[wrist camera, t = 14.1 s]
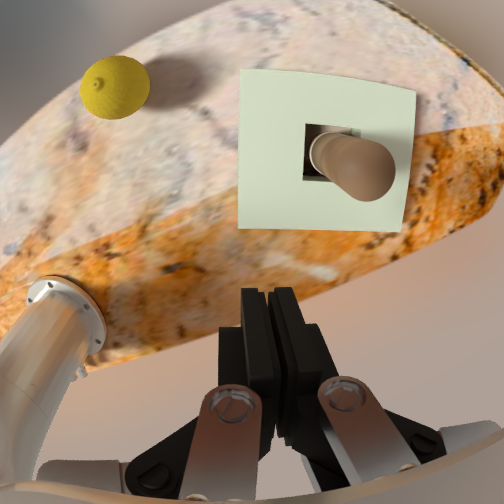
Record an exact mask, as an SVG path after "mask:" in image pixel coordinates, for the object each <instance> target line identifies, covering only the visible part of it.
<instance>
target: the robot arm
mask: <svg viewBox="0 0 504 504" xmlns="http://www.w3.org/2000/svg"><path fill="white" fill-rule="evenodd" d="M26 303H27V308H26V310H25V311H24V312H23V313H22V314H21V316H20V317H19V318H18V319H17V320H16V322H15V323H14V324H13V325H12V326H11V328H10V329H9V330H8V331H7V333H6V334H5V335H4V336H3V338H2V339H1V340H0V504H504V428H502V429H501V427H500V426H499V425H498V424H497V423H495V422H492V421H479V422H474V423H469V424H463V425H456V426H449V427H442V428H440V429H439V430H438V431H435V430H433V429H432V428H430V427H427V426H425V425H422V424H420V423H417V422H415V421H412V420H410V419H407V418H405V417H402V416H400V415H397V414H395V413H392V412H390V411H388V410H386V409H383V408H382V406H381V405H380V403H379V402H378V400H377V399H376V397H375V396H374V395H373V393H372V392H371V390H370V389H369V388H368V387H367V385H366V384H365V383H363V382H361V381H360V380H358V379H356V378H353V377H349V376H339V374H338V372H337V369H336V367H335V365H334V362H333V360H332V357H331V355H330V353H329V350H328V348H327V345H326V343H325V341H324V338H323V336H322V334H321V332H320V329H319V327H318V325H317V324H305V321H304V318H303V316H302V313H301V310H300V308H299V305H298V303H297V300H296V297H295V295H294V292H293V289H292V287H275V288H274V292H269V293H268V306H267V303H266V299H265V294H264V292H258V288H241V327H219V352H218V353H219V355H218V387H216V388H214V389H212V390H211V391H209V392H208V393H207V394H206V395H205V397H204V399H203V401H202V405H201V408H200V412H199V416H198V417H196V418H195V419H193V420H192V421H191V422H189V423H188V424H186V425H185V426H183V427H182V428H180V429H179V430H178V431H176V432H174V433H173V434H172V435H170V436H169V437H167V438H165V439H164V440H162V441H161V442H159V443H158V444H157V445H155V446H153V447H152V448H150V449H149V450H147V451H145V452H144V453H142V454H140V455H139V456H137V457H136V458H135V459H133V460H132V461H131V462H124V463H120V462H119V460H50V461H48V462H46V463H44V464H43V465H42V466H41V467H40V468H39V470H38V473H37V479H36V481H32V476H33V472H34V467H35V464H36V461H37V457H38V454H39V452H40V449H41V446H42V444H43V441H44V439H45V436H46V434H47V432H48V429H49V427H50V425H51V423H52V421H53V418H54V416H55V414H56V412H57V410H58V407H59V405H60V403H61V401H62V399H63V397H64V394H65V393H66V391H67V389H68V386H69V384H70V382H74V381H75V380H76V379H77V378H78V376H77V373H76V371H77V372H78V374H79V376H80V377H81V378H84V377H86V376H87V375H88V373H87V371H86V368H85V366H84V365H83V364H84V362H85V360H86V358H87V356H91V355H93V354H95V353H97V352H98V351H99V350H100V349H101V348H102V346H103V344H104V342H105V339H106V334H107V329H106V323H105V320H104V317H103V315H102V313H101V311H100V309H99V307H98V306H97V304H96V303H95V302H94V300H93V299H92V298H91V297H90V296H89V295H88V294H87V293H86V292H85V291H84V290H83V289H82V288H80V287H79V286H77V285H76V284H74V283H73V282H71V281H69V280H67V279H64V278H61V277H58V276H44V277H42V278H39V279H38V280H36V281H35V282H34V283H33V284H32V286H31V287H30V288H29V290H28V293H27V297H26ZM275 423H276V429H277V435H278V437H279V438H282V437H284V440H285V445H286V446H292V449H294V450H295V451H297V452H299V453H301V459H302V462H303V465H304V467H305V470H306V472H307V474H308V477H309V479H310V481H311V483H312V486H313V488H314V491H315V494H308V495H302V496H294V497H286V498H277V499H266V500H255V497H256V484H257V472H258V462H259V461H260V459H262V458H263V457H264V456H265V455H266V454H267V453H268V452H269V451H270V447H271V440H272V438H273V437H274V430H275Z"/></svg>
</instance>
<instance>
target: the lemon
mask: <svg viewBox="0 0 504 504" xmlns="http://www.w3.org/2000/svg"><path fill="white" fill-rule="evenodd" d="M149 92H150V78H149V75H148V73H147V70H146V69H145V68H144V66H143V65H142V64H141V63H140V62H138V61H137V60H135V59H133V58H130V57H126V56H110V57H107V58H103V59H101V60H99V61H97V62H96V63H94V64H93V65H92V66H91V67H90V68H89V69H88V70H87V72H86V73H85V75H84V77H83V79H82V82H81V86H80V96H81V100H82V102H83V104H84V106H85V108H86V109H87V110H88V111H89V112H91V113H92V114H94V115H96V116H98V117H100V118H104V119H109V120H113V119H121V118H124V117H127V116H130V115H131V114H133V113H134V112H136V111H137V110H138V109H139V108H140V107H141V106H142V105H143V104H144V102H145V101H146V99H147V97H148V94H149Z"/></svg>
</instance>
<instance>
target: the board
mask: <svg viewBox="0 0 504 504" xmlns="http://www.w3.org/2000/svg"><path fill="white" fill-rule="evenodd" d="M415 110H416V91H412V90H408V89H404V88H399V87H395V86H391V85H386V84H381V83H376V82H371V81H366V80H360V79H354V78H348V77H341V76H334V75H326V74H317V73H308V72H297V71H283V70H263V69H240V80H239V138H238V229H303V230H347V231H380V232H400V231H401V226H402V220H403V215H404V209H405V203H406V197H407V190H408V183H409V175H410V168H411V159H412V149H413V139H414V126H415ZM305 123H307V124H320V125H331V126H340V127H349V128H352V131H351V136H353V137H357V138H362V139H366V140H370V141H374V142H377V143H380V144H381V145H383V146H384V147H386V148H387V149H388V151H389V152H390V153H391V155H392V157H393V159H394V162H395V167H396V174H395V179H394V182H393V185H392V187H391V188H390V190H389V191H388V192H387V193H386V194H385V195H384V196H383V197H381V198H380V199H377V200H375V201H371V202H363V201H359V200H356V199H354V198H352V197H351V196H350V195H349V194H347V193H346V192H345V191H344V190H342V189H341V188H340V187H339V186H337V185H336V184H335V183H333V182H332V181H331V180H330V179H328V178H327V177H323V176H304V175H303V162H304V143H305Z"/></svg>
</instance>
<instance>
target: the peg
mask: <svg viewBox="0 0 504 504" xmlns="http://www.w3.org/2000/svg"><path fill="white" fill-rule="evenodd" d="M307 152H308V156H309V158H310V161H311V163H312V165H313V167H314V168H315V169H316V170H317V171H318V172H320V173H321V174H323V175H324V176H326V177H327V178H328V179H330V180H331V181H332V182H333V183H335V184H336V185H337V186H339V187H340V188H341V189H342V190H344V191H345V192H346V193H347V194H349V195H350V196H351V197H352V198H354V199H356V200H359V201H363V202H371V201H375V200H377V199H380V198H381V197H383V196H384V195H385V194H386V193H387V192H388V191H389V190H390V188H391V187H392V185H393V182H394V179H395V174H396V167H395V162H394V159H393V157H392V155H391V153H390V152H389V151H388V149H387V148H386V147H384V146H383V145H381V144H380V143H377V142H374V141H370V140H366V139H362V138H357V137H353V136H349V135H344V134H340V133H337V132H324V133H322V134H319V135H316V136H315V137H313V138H312V139H311V140H310V142H309V144H308V148H307Z"/></svg>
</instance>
